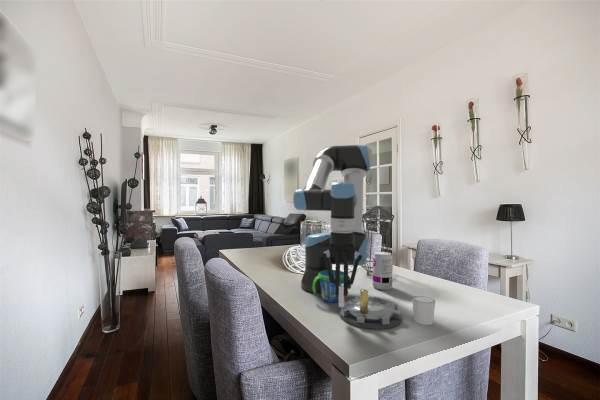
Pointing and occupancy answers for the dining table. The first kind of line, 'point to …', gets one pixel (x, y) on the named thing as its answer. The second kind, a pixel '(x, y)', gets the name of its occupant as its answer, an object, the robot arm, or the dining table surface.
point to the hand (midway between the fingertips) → (341, 305)
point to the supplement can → (382, 270)
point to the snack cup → (328, 286)
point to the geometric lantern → (377, 230)
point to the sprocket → (370, 309)
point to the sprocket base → (370, 323)
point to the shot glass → (423, 310)
